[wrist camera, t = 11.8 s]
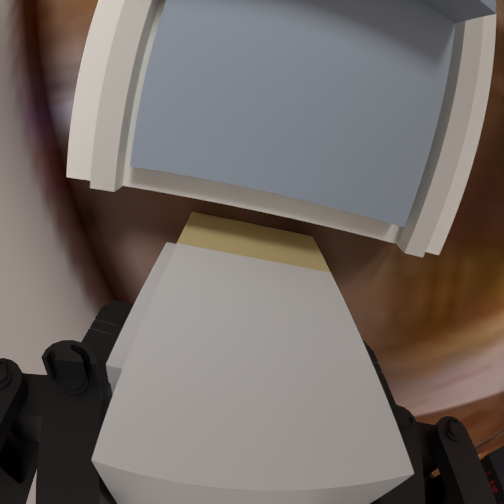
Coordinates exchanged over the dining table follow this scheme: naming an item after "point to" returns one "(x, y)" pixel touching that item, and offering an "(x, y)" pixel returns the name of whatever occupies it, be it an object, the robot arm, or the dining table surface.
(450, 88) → the socket
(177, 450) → the plug
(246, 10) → the shutter
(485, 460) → the product box
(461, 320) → the dining table surface
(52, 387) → the robot arm
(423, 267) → the dining table surface
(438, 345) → the dining table surface
